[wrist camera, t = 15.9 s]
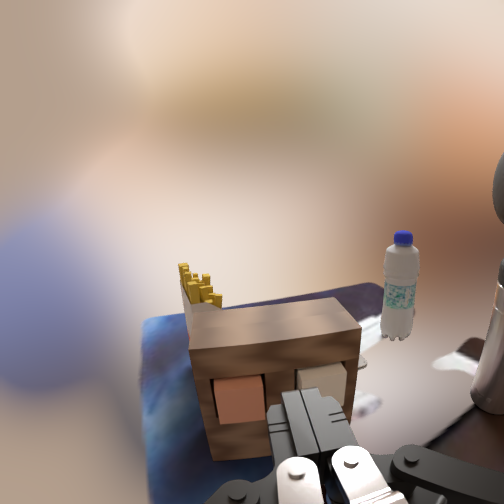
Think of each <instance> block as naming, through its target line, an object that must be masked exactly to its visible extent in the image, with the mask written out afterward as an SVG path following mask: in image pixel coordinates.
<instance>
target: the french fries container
mask: <svg viewBox="0 0 504 504" xmlns="http://www.w3.org/2000/svg"><path fill="white" fill-rule="evenodd" d="M178 266H179V272H180V279H181V280H180V285H181V291H182V298H183V305H184V311H185V317H186V323H187V329H188V335H189V341H190V335H191V328H192V321H193V314H194V313H196V312H207V311H218V310H222V294H215V293H213V287H212V286H210V275H209V274H202V280H201V281H200V280H199V279H198V274H197V273H194V274H193V278H192V276H191V272H189V265H188V264H187V263H182V264H178Z"/></svg>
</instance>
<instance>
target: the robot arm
mask: <svg viewBox="0 0 504 504" xmlns="http://www.w3.org/2000/svg"><path fill="white" fill-rule="evenodd" d="M493 204H494V208H495V211H496V214H497V216H498V218H499V219H500V221H501V222H502V223H503V224H504V153H503V154H502V156H501V158H500V160H499V163H498V165H497V168H496V171H495V176H494V181H493ZM470 394H471V398H472V400H473V402H474V403H475V404H476V405H477V406H478V407H479V408H480V409H482V410H484V411H486V412H489V413H492V414H504V258H503V260H502V261H501V264H500V268H499V275H498V281H497V288H496V294H495V299H494V305H493V310H492V315H491V319H490V324H489V328H488V332H487V336H486V340H485V344H484V348H483V351H482V355H481V358H480V362H479V365H478V368H477V372H476V375H475V378H474V381H473V384H472V387H471V391H470ZM267 426H268V438H269V444H270V449H271V455H272V461H273V466H274V469H273V471H272V472H271V473H270V474H269V475H268V476H266V477H265V478H263V479H261V480H258V481H256V482H253V483H251V482H249V481H246V480H240V479H239V480H231V481H228V482H226V483H225V484H223V485H222V486H221V487H220V488H219V489H218V490H217V491H216V492H215V493H214V494H213V495H212V496H211V497H210V498H209V499H208V500H207V501H206V502H205V503H204V504H324V501H323V496H322V491H321V486H320V485H322V484H325V487H326V490H327V494H326V500H327V503H328V504H504V473H502V472H499V471H495V470H491V469H488V468H484V467H481V466H478V465H474V464H471V463H468V462H465V461H461V460H458V459H455V458H452V457H449V456H446V455H443V454H440V453H438V452H435V451H432V450H429V449H426V448H424V447H421V446H418V445H405V446H402V447H401V448H399V449H398V450H397V451H396V452H395V454H392V455H374V454H370V453H368V452H367V451H366V450H364V449H363V448H361V447H360V446H359V445H358V443H357V440H356V438H355V436H354V434H353V432H352V430H351V428H350V425H349V423H348V421H347V420H346V417H345V414H344V413H343V410H342V408H341V406H340V404H339V402H338V401H336V400H335V399H334V398H333V397H331V396H327V397H321V395H320V392H319V390H318V388H317V387H310V388H304V389H299V390H292V391H285V392H281V404H279V405H271V406H270V407H269V410H268V412H267Z"/></svg>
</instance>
